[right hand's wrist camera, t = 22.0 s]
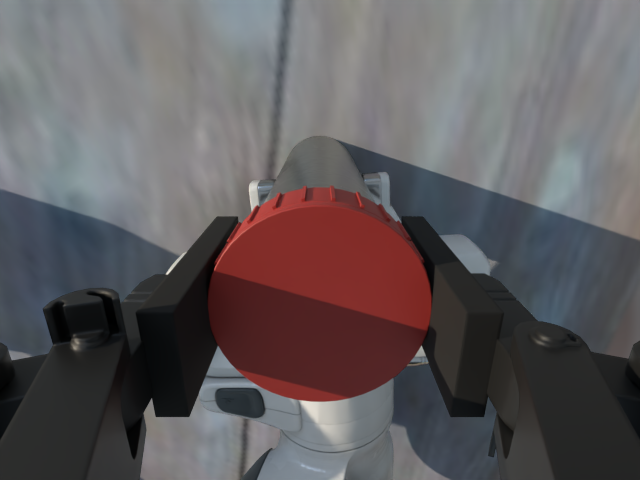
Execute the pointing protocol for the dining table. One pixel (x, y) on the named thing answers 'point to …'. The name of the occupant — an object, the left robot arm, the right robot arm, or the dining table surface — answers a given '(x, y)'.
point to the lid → (319, 296)
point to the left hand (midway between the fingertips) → (318, 177)
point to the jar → (319, 168)
